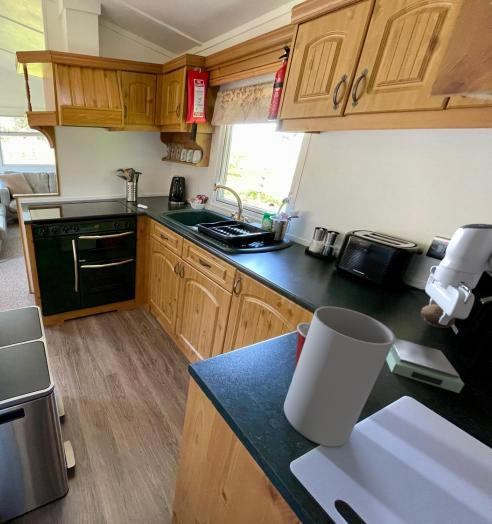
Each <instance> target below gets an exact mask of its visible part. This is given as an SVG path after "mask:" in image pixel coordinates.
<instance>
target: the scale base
mask: <svg viewBox="0 0 492 524" xmlns="http://www.w3.org/2000/svg"><path fill="white" fill-rule="evenodd" d="M385 361H386V363H387V365H388V367H389V371H390V372H391V374H392V373H393V374H397V375H399V376H401V377H402V376H403V377H406V378H408V379H412V380H415V381H417V382H422V383H425V384H428V385H431V386H435V387H437V388H441V389H444V390H447V391H451V392H454V393H457V394H460V393H461V391H462V389H463V388H464V386H465V383H464V382H463V380H462V379H461V377H459V378H455V377H452V376H448V375H445V374H441V373H438V372H435V371H431V370H428V369H424V368H421V367H418V366H414V365H411V364H407V363H404V362H401V361H400V360H399V358H398V356H397V354H396V352H395V350H394V348H393V346H392V347H391V349H390V352H389V354H388V356H387V358H386V360H385Z"/></svg>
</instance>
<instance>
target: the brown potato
mask: <svg viewBox="0 0 492 524" xmlns="http://www.w3.org/2000/svg"><path fill="white" fill-rule="evenodd" d="M443 312H444V310H443V309H442V308H441V307H440V306H439V305H430V304H427V305H425V306H423V307H422V308H421V310H420V314H421V317H422V319H423V320H424V322H426V323H427V324H428V325H430V326H432V327H434V328H441V329H446V328H447V329H448V328H450V327H453V325H455V323H456V318H452V319H451V320H449V322H448V324H447V325H442V324H440V323H439V322H438V319H439V317H441V316H442V315H443Z"/></svg>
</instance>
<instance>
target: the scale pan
mask: <svg viewBox="0 0 492 524" xmlns="http://www.w3.org/2000/svg"><path fill="white" fill-rule="evenodd" d="M392 346H393V348H394V350H395V352H396V354H397V356H398V358H399V360H400V361H401V362H404V363H407V364H411V365H414V366H418V367H421V368H424V369H428V370H431V371H435V372H438V373H441V374H445V375H448V376H452V377H455V378H460V375H459V373H458V372H457V370H456V369H455V368H454V366H453V365H452V364H451V362H450V361H449V359H448V358H447V357H446V356H445V354H444V353H443V351H442V350H439V349H437V348H432V347H429V346H425V345H422V344H418V343H414V342H411V341H407V340H403V339H400V338H396V337H395V341H394V343H393V345H392Z"/></svg>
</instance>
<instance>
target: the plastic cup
mask: <svg viewBox="0 0 492 524" xmlns="http://www.w3.org/2000/svg"><path fill="white" fill-rule="evenodd" d="M310 325H311V322H300V323H298V324H297V325H296V329H297V342H296V351H295V368H296V367H297V364H298V361H299V358H300V355H301V352H302V349H303V346H304V343H305V340H306V337H307V334H308V331H309V328H310Z"/></svg>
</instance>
